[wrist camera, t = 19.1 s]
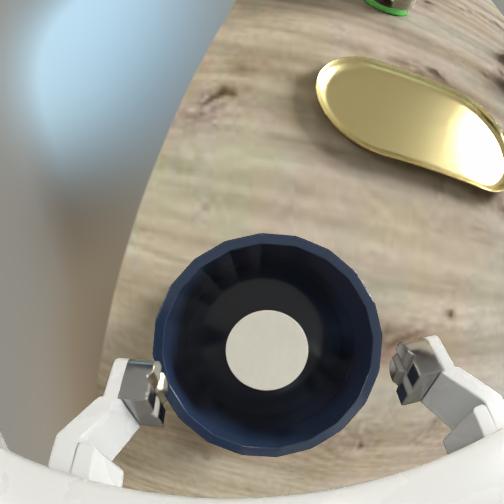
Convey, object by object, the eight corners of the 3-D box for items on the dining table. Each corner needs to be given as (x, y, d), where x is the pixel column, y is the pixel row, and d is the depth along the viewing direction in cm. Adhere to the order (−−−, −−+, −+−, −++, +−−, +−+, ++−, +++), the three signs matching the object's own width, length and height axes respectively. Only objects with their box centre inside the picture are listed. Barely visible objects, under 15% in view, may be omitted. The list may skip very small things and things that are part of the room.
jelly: (240, 377, 28) (235, 397, 20) (227, 320, 29) (217, 319, 21) (298, 364, 28) (315, 379, 20) (286, 307, 29) (298, 301, 21)
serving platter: (317, 52, 38) (319, 45, 37) (495, 117, 36) (500, 113, 35) (307, 144, 34) (310, 136, 32) (516, 209, 32) (522, 206, 31)
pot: (203, 433, 27) (185, 470, 18) (167, 279, 30) (135, 261, 22) (360, 395, 27) (397, 418, 19) (323, 243, 31) (349, 213, 22)
